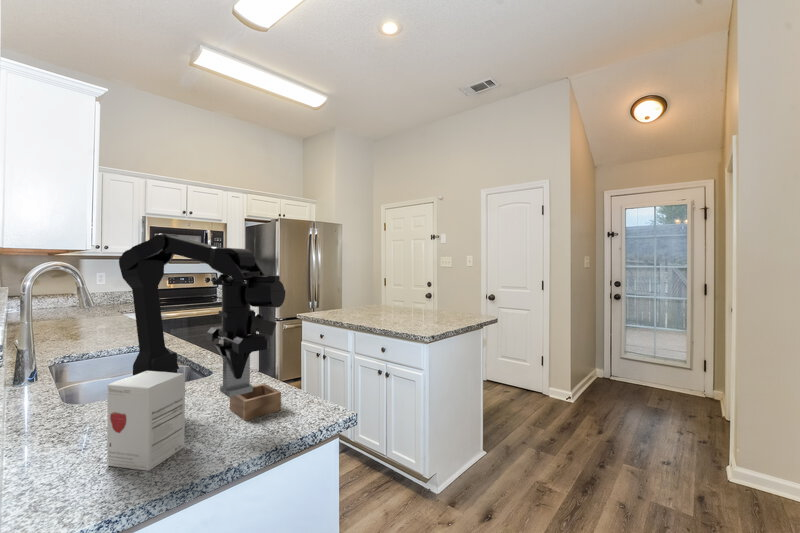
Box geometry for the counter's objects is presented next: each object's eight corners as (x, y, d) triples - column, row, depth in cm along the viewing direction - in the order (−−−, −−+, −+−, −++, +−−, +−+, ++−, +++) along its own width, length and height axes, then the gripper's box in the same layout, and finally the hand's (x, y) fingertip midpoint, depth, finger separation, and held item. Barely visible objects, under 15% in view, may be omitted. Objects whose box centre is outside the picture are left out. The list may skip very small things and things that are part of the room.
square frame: (244, 421, 86) (244, 401, 86) (229, 409, 92) (229, 391, 92) (280, 410, 92) (280, 392, 92) (264, 400, 98) (264, 383, 98)
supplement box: (104, 466, 66) (104, 384, 66) (146, 442, 75) (146, 369, 75) (148, 472, 65) (148, 387, 65) (186, 447, 74) (186, 372, 73)
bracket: (229, 397, 77) (229, 358, 77) (220, 391, 81) (220, 353, 81) (252, 391, 81) (252, 354, 81) (243, 386, 84) (243, 350, 84)
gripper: (291, 306, 80) (291, 378, 80) (253, 300, 93) (253, 362, 93) (239, 311, 72) (239, 391, 72) (206, 303, 85) (206, 371, 85)
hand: (236, 377), depth 81 cm, fingers closed on bracket
